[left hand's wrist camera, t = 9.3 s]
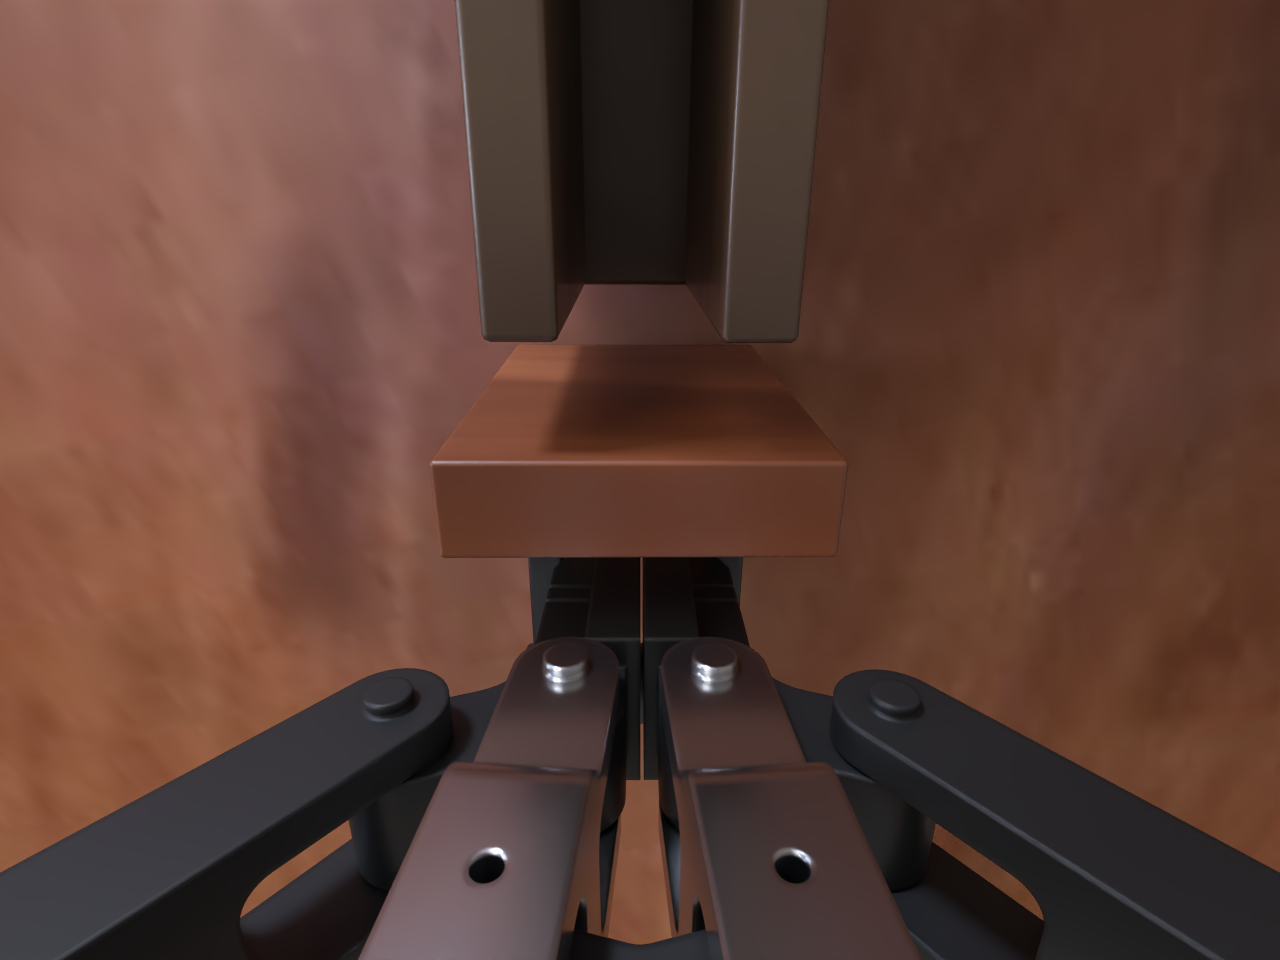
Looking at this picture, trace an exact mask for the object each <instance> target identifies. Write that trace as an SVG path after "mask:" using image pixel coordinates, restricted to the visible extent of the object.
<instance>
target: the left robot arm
mask: <svg viewBox="0 0 1280 960" xmlns="http://www.w3.org/2000/svg"><path fill="white" fill-rule="evenodd" d="M643 732H644V780H658V782H659V837H660V845H661V853H662V861H663V869H664V877H665V885H666V893H667V902H668V910H669V918H670V926H671V934H672V938H670V939H666V940H662V941H658V942H654V943H650V944H644V945H635V944H630V943H626V942H622V941H618V940H614V939H610V938H608V932H609V924H610V915H611V907H612V899H613V891H614V883H615V875H616V867H617V859H618V850H619V842H620V834H621V812H622V810H623V808H624V805H625V798H626V780H640V557H566V558H564V559H563V560H562V561H561V562H560V563H559V564H558V565H557V566H556V567H555V568H554V570H553V574H552V578H551V582H550V588H549V590H548V594H547V598H546V602H545V606H544V610H543V614H542V618H541V622H540V626H539V630H538V634H537V638H536V642H535V645H533V646H531V647H530V648H528V649H526V650H525V651H524V652H523V653H521V654H520V655H519V657H518V658H517V659H516V660H515V662H514V664H513V666H512V669H511V671H510V674H509V676H508V679H507V681H506V682H504V683H502V684H499V685H497V686H494V687H491V688H489V689H485V690H481V691H477V692H472V693H468V694H463V695H458V696H454V697H450V696H449V689H448V686H447V684H446V683H445V681H444V680H443V679H442V678H440V677H439V676H438V675H436V674H434V673H432V672H429V671H426V670H421V669H411V668H404V669H394V670H388V671H383V672H380V673H376V674H373V675H371V676H368V677H366V678H363V679H361V680H359V681H357V682H355V683H353V684H352V685H350V686H348V687H346V688H344V689H342V690H340V691H339V692H337V693H335V694H333V695H331V696H329V697H327V698H325V699H324V700H322V701H320V702H318V703H316V704H314V705H312V706H311V707H309V708H307V709H305V710H303V711H301V712H299V713H298V714H296V715H294V716H292V717H290V718H288V719H286V720H284V721H283V722H281V723H279V724H277V725H275V726H273V727H271V728H270V729H268V730H266V731H264V732H262V733H260V734H258V735H256V736H255V737H253V738H251V739H249V740H247V741H245V742H243V743H242V744H240V745H238V746H236V747H234V748H232V749H230V750H228V751H227V752H225V753H223V754H221V755H219V756H217V757H215V758H214V759H212V760H210V761H208V762H206V763H204V764H202V765H201V766H199V767H197V768H195V769H193V770H191V771H189V772H187V773H186V774H184V775H182V776H180V777H178V778H176V779H174V780H173V781H171V782H169V783H167V784H165V785H163V786H161V787H159V788H158V789H156V790H154V791H152V792H150V793H148V794H146V795H145V796H143V797H141V798H139V799H137V800H135V801H133V802H131V803H130V804H128V805H126V806H124V807H122V808H120V809H118V810H117V811H115V812H113V813H111V814H109V815H107V816H105V817H104V818H102V819H100V820H98V821H96V822H94V823H92V824H90V825H89V826H87V827H85V828H83V829H81V830H79V831H77V832H76V833H74V834H72V835H70V836H68V837H66V838H64V839H62V840H61V841H59V842H57V843H55V844H53V845H51V846H49V847H48V848H46V849H44V850H42V851H40V852H38V853H36V854H34V855H33V856H31V857H29V858H27V859H25V860H23V861H21V862H20V863H18V864H16V865H14V866H12V867H10V868H8V869H7V870H5V871H3V872H1V873H0V960H1280V873H1279V872H1277V871H1275V870H1273V869H1272V868H1270V867H1268V866H1266V865H1264V864H1262V863H1260V862H1259V861H1257V860H1255V859H1253V858H1251V857H1249V856H1247V855H1245V854H1244V853H1242V852H1240V851H1238V850H1236V849H1234V848H1232V847H1231V846H1229V845H1227V844H1225V843H1223V842H1221V841H1219V840H1217V839H1216V838H1214V837H1212V836H1210V835H1208V834H1206V833H1204V832H1203V831H1201V830H1199V829H1197V828H1195V827H1193V826H1191V825H1190V824H1188V823H1186V822H1184V821H1182V820H1180V819H1178V818H1176V817H1175V816H1173V815H1171V814H1169V813H1167V812H1165V811H1163V810H1162V809H1160V808H1158V807H1156V806H1154V805H1152V804H1150V803H1148V802H1147V801H1145V800H1143V799H1141V798H1139V797H1137V796H1135V795H1134V794H1132V793H1130V792H1128V791H1126V790H1124V789H1122V788H1120V787H1119V786H1117V785H1115V784H1113V783H1111V782H1109V781H1107V780H1106V779H1104V778H1102V777H1100V776H1098V775H1096V774H1094V773H1092V772H1091V771H1089V770H1087V769H1085V768H1083V767H1081V766H1079V765H1078V764H1076V763H1074V762H1072V761H1070V760H1068V759H1066V758H1065V757H1063V756H1061V755H1059V754H1057V753H1055V752H1053V751H1051V750H1050V749H1048V748H1046V747H1044V746H1042V745H1040V744H1038V743H1037V742H1035V741H1033V740H1031V739H1029V738H1027V737H1025V736H1023V735H1022V734H1020V733H1018V732H1016V731H1014V730H1012V729H1010V728H1009V727H1007V726H1005V725H1003V724H1001V723H999V722H997V721H995V720H994V719H992V718H990V717H988V716H986V715H984V714H982V713H981V712H979V711H977V710H975V709H973V708H971V707H969V706H967V705H966V704H964V703H962V702H960V701H958V700H956V699H954V698H953V697H951V696H949V695H947V694H945V693H943V692H941V691H940V690H938V689H936V688H934V687H932V686H930V685H928V684H926V683H925V682H922V681H920V680H918V679H916V678H914V677H911V676H908V675H905V674H901V673H897V672H892V671H886V670H864V671H858V672H855V673H852V674H849V675H847V676H845V677H844V678H843V679H841V680H840V681H839V682H838V684H837V685H836V687H835V689H834V693H833V696H828V695H823V694H819V693H814V692H809V691H805V690H801V689H797V688H794V687H791V686H788V685H786V684H784V683H781V682H779V681H777V680H776V679H774V678H772V677H771V674H770V672H769V670H768V667H767V665H766V663H765V661H764V659H763V658H762V657H761V656H760V655H759V654H758V653H757V652H756V651H755V650H753V649H752V648H750V646H749V642H748V638H747V634H746V630H745V626H744V622H743V619H742V615H741V611H740V607H739V603H738V602H737V595H736V592H735V588H734V584H733V580H732V576H731V572H730V568H729V567H728V566H727V565H725V564H724V563H723V562H722V561H721V560H720V559H719V558H718V557H643ZM347 820H349V824H350V829H351V834H352V839H351V840H349V841H348V842H347V843H345V844H344V845H342V846H341V847H340V848H338V849H337V850H335V851H334V852H333V853H331V854H330V855H328V856H327V857H326V858H324V859H323V860H321V861H320V862H319V863H317V864H316V865H314V866H313V867H312V868H310V869H309V870H307V871H306V872H305V873H303V874H302V875H300V876H299V877H298V878H296V879H295V880H293V881H292V882H291V883H289V884H288V885H286V886H285V887H284V888H282V889H281V890H279V891H278V892H277V893H275V894H274V895H272V896H271V897H270V898H268V899H267V900H265V901H264V902H263V903H261V904H260V905H258V906H257V907H256V908H254V909H253V910H251V911H250V912H249V913H247V914H246V915H244V916H243V917H241V918H240V915H241V911H242V908H243V906H244V904H245V902H246V900H247V898H248V897H249V895H250V894H251V892H252V891H253V890H254V888H255V887H256V886H257V885H258V884H259V883H260V882H261V881H262V880H263V879H264V878H265V877H267V876H268V875H269V874H271V873H272V872H273V871H275V870H276V869H278V868H279V867H281V866H282V865H283V864H285V863H286V862H288V861H289V860H291V859H292V858H294V857H295V856H296V855H298V854H299V853H301V852H302V851H304V850H305V849H307V848H308V847H310V846H311V845H312V844H314V843H315V842H317V841H318V840H320V839H321V838H323V837H324V836H325V835H327V834H328V833H330V832H331V831H333V830H334V829H336V828H337V827H339V826H340V825H341V824H343V823H344V822H346V821H347ZM936 823H937V824H938V825H940V826H941V827H943V828H944V829H946V830H947V831H949V832H950V833H952V834H953V835H954V836H956V837H957V838H959V839H960V840H962V841H963V842H965V843H966V844H967V845H969V846H970V847H972V848H973V849H975V850H976V851H978V852H979V853H981V854H982V855H983V856H985V857H986V858H988V859H989V860H991V861H992V862H994V863H995V864H996V865H998V866H999V867H1001V868H1002V869H1004V870H1005V871H1007V872H1008V873H1010V874H1011V875H1012V876H1014V877H1015V878H1016V879H1018V880H1019V881H1020V882H1021V883H1022V884H1023V885H1024V886H1025V887H1026V888H1027V889H1028V890H1029V891H1030V892H1031V894H1032V895H1033V897H1034V898H1035V899H1036V901H1037V903H1038V904H1039V906H1040V909H1041V911H1042V914H1043V917H1044V921H1043V920H1041V919H1040V918H1038V917H1037V916H1036V915H1034V914H1033V913H1031V912H1030V911H1029V910H1027V909H1026V908H1024V907H1023V906H1022V905H1020V904H1019V903H1017V902H1016V901H1015V900H1013V899H1012V898H1010V897H1009V896H1008V895H1006V894H1005V893H1003V892H1002V891H1001V890H999V889H998V888H996V887H995V886H994V885H992V884H991V883H989V882H988V881H987V880H985V879H984V878H982V877H981V876H980V875H978V874H977V873H975V872H974V871H973V870H971V869H970V868H968V867H967V866H966V865H964V864H963V863H961V862H960V861H959V860H957V859H956V858H954V857H953V856H952V855H950V854H949V853H947V852H946V851H945V850H943V849H942V848H940V847H939V846H938V845H936V844H935V843H933V842H932V839H933V834H934V829H935V824H936Z"/></svg>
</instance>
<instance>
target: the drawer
mask: <svg viewBox="0 0 1280 960" xmlns="http://www.w3.org/2000/svg"><path fill="white" fill-rule="evenodd" d="M828 5H829V0H455V10H456V23H457V35H458V47H459V60H460V72H461V85H462V97H463V110H464V122H465V134H466V147H467V159H468V172H469V184H470V196H471V209H472V221H473V234H474V246H475V259H476V271H477V283H478V296H479V308H480V321H481V333H482V335H483V337H484V339H485V340H487V341H490V342H552V341H554V340H556V339H557V337H558V335H559V334H560V332H561V330H562V328H563V326H564V324H565V322H566V320H567V318H568V316H569V314H570V312H571V310H572V308H573V306H574V304H575V302H576V300H577V298H578V296H579V294H580V292H581V290H582V288H583V286H584V284H651V285H687V287H688V288H689V290H690V291H691V293H692V294H693V296H694V297H695V299H696V300H697V302H698V303H699V305H700V306H701V308H702V309H703V311H704V312H705V314H706V315H707V317H708V318H709V320H710V321H711V323H712V324H713V326H714V327H715V329H716V330H717V332H718V333H719V335H720V336H721V338H722V339H723V341H725V342H727V343H792V342H794V341H796V339H797V337H798V331H799V320H800V309H801V298H802V287H803V276H804V266H805V255H806V244H807V233H808V222H809V211H810V200H811V190H812V179H813V168H814V157H815V146H816V135H817V125H818V114H819V103H820V92H821V81H822V70H823V59H824V49H825V38H826V27H827V16H828ZM429 467H430V475H431V484H432V492H433V501H434V509H435V518H436V526H437V535H438V543H439V552H440V555H441V557H444V558H528V561H529V577H530V593H531V609H532V625H533V641H534V643H531V644H529V645H528V647H527V649H528V648H530V647H531V646H533V645H535V642H536V638H537V634H538V630H539V626H540V622H541V618H542V614H543V610H544V606H545V602H546V598H547V594H548V590H549V588H550V582H551V578H552V574H553V570H554V568H555V567H556V566H557V565H558V564H559V563H560V562H561V561H562V560H563V559H564V558H566V557H718V558H719V559H720V560H721V561H722V562H723V563H724V564H725V565H727V566H728V567H729V568H730V572H731V576H732V580H733V584H734V588H735V592H736V595H737V602H738V603H739V606H740V592H741V578H742V564H743V557H833V556H835V555H836V553H837V547H838V540H839V532H840V524H841V516H842V509H843V501H844V493H845V485H846V478H847V470H848V463H847V461H846V459H845V458H844V457H843V456H842V455H841V453H840V452H839V451H838V450H837V449H836V447H835V446H834V445H833V444H832V443H831V441H830V440H829V439H828V438H827V437H826V435H825V434H824V433H823V432H822V430H821V429H820V428H819V427H818V426H817V424H816V423H815V422H814V421H813V420H812V418H811V417H810V416H809V415H808V414H807V412H806V411H805V410H804V409H803V408H802V406H801V405H800V404H799V403H798V402H797V400H796V399H795V398H794V397H793V396H792V394H791V393H790V392H789V391H788V389H787V388H786V387H785V386H784V385H783V383H782V382H781V381H780V380H779V379H778V377H777V376H776V375H775V374H774V373H773V371H772V370H771V369H770V368H769V367H768V365H767V364H766V363H765V362H764V361H763V359H762V358H761V357H760V356H759V355H758V353H757V352H756V351H755V350H754V348H753V347H752V346H750V345H518V346H517V347H516V348H515V349H514V351H513V352H512V353H511V355H510V356H509V357H508V359H507V360H506V361H505V363H504V364H503V365H502V367H501V368H500V369H499V371H498V372H497V373H496V375H495V376H494V377H493V379H492V380H491V381H490V383H489V384H488V385H487V387H486V388H485V389H484V391H483V392H482V393H481V395H480V396H479V397H478V399H477V400H476V401H475V403H474V404H473V405H472V407H471V408H470V409H469V411H468V412H467V413H466V415H465V416H464V417H463V419H462V420H461V421H460V423H459V424H458V425H457V427H456V428H455V429H454V431H453V432H452V433H451V435H450V436H449V437H448V439H447V440H446V441H445V443H444V444H443V445H442V447H441V448H440V449H439V451H438V452H437V453H436V455H435V456H434V457H433V459H432V460H431V461H430V464H429ZM640 723H643V643H640Z"/></svg>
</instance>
